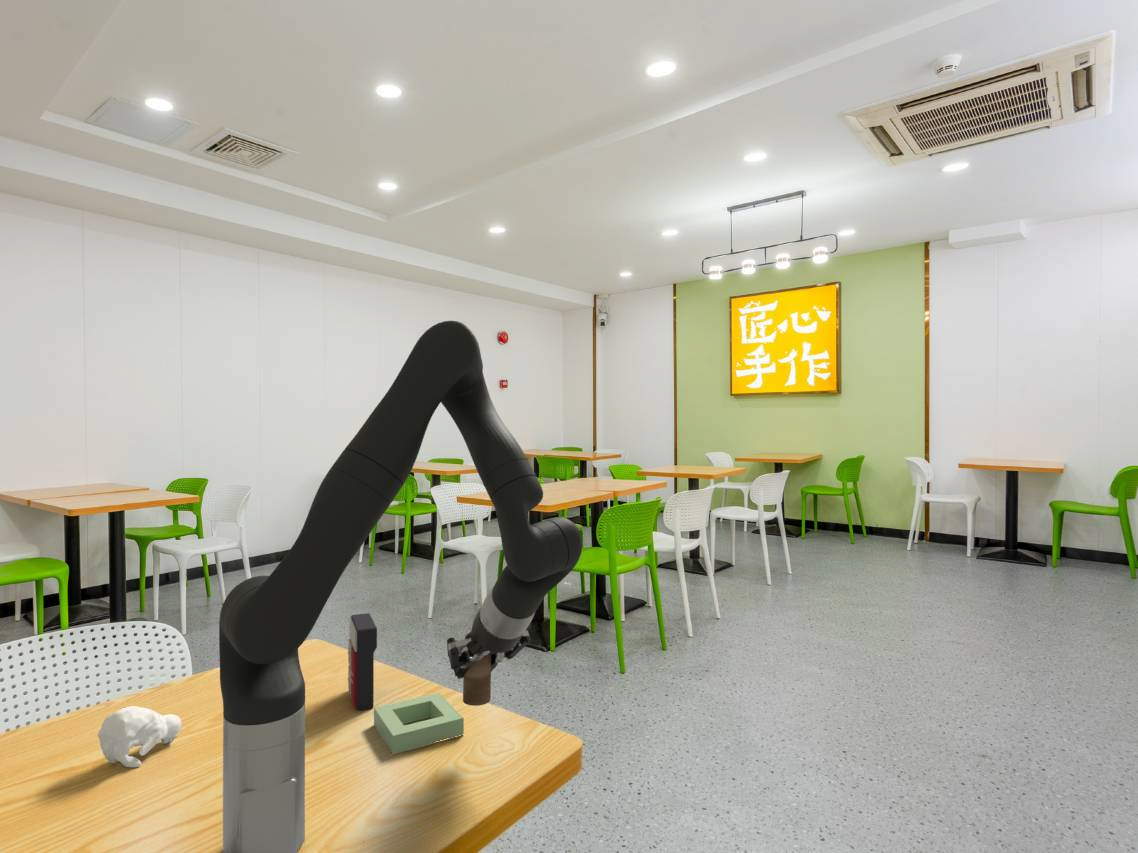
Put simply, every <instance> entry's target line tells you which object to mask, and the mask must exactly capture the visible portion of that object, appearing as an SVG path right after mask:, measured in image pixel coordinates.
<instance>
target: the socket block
mask: <svg viewBox="0 0 1138 853" xmlns="http://www.w3.org/2000/svg"><path fill="white" fill-rule="evenodd" d="M429 717H430V719H429ZM425 718H426V719H427V720H425ZM421 719H422V720H421ZM417 720H418V721H417ZM413 721H414V722H413ZM464 721H465V720H464V717H463V716H462V715H461V713H459V711H458V710H456V709H455V707H454V706H453V705H451V703H450V702H449V701H448V700H447V699H446V698H445V697H444V696H443V695H442V694H441V693H440V692H437V693H432V694H428V695H424V696H418V697H415V698H410V699H405V700H403V701H402V700H401V701H397V702H393V703H388V704H384V705H379V706H375V707H373V725H374V727H375V728H376V730H377V732H378V733H379V735H380V736H381V738H382V739H383V741H384V742H385V744H386V746H387V747H388V749H389V750H390V751H391V753H392V755H397V754H401V753H404V752H408V751H412V750H415V749H418V748H423V747H426V745H427V746H429V745H428V744H430V745H432V744H431V743H434V742H436V741H440V740H444V739H447V738H452V737H455V736H459V735H462V734H465V733H464V731H465V730H464V729H465V728H464V727H465V726H464ZM409 722H410V723H409ZM405 723H406V724H405ZM408 723H409V724H408ZM434 744H435V743H434ZM422 746H423V747H422Z"/></svg>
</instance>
